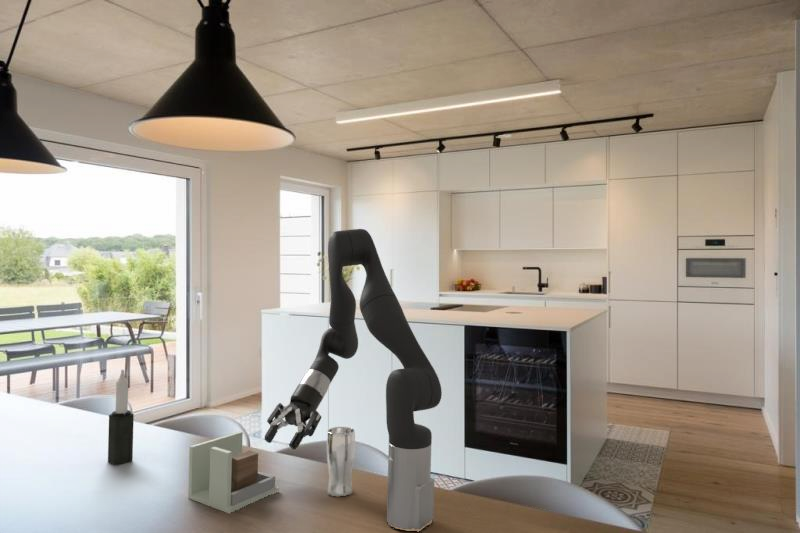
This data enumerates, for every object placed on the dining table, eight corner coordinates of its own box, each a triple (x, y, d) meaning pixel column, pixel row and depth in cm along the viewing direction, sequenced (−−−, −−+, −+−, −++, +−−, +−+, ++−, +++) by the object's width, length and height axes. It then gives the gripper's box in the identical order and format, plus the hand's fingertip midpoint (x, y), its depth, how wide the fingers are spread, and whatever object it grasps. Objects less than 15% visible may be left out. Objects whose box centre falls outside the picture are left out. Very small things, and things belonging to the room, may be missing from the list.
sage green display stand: (278, 491, 137) (279, 437, 137) (229, 513, 125) (230, 454, 125) (238, 478, 145) (239, 427, 145) (188, 498, 132) (189, 442, 132)
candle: (115, 466, 151) (117, 372, 151) (106, 461, 154) (108, 369, 154) (134, 461, 155) (136, 369, 155) (124, 456, 158) (127, 367, 158)
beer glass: (327, 499, 134) (329, 435, 134) (323, 488, 140) (324, 427, 140) (356, 496, 135) (358, 433, 135) (351, 485, 142) (352, 425, 142)
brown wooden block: (257, 491, 135) (258, 453, 135) (236, 499, 130) (238, 460, 130) (248, 488, 136) (249, 450, 136) (228, 496, 131) (229, 457, 131)
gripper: (284, 379, 154) (251, 431, 144) (325, 386, 146) (293, 441, 137) (297, 395, 158) (266, 446, 149) (337, 403, 151) (307, 458, 141)
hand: (279, 444), depth 143 cm, fingers open, 8 cm apart
